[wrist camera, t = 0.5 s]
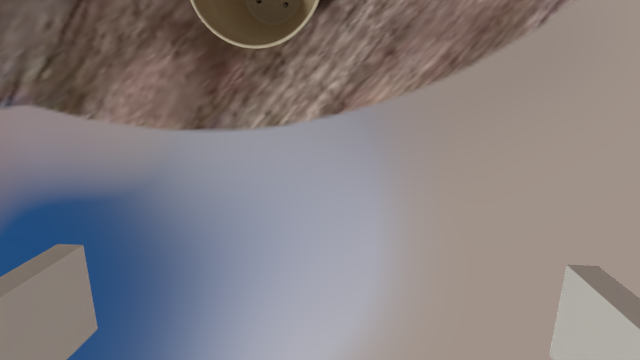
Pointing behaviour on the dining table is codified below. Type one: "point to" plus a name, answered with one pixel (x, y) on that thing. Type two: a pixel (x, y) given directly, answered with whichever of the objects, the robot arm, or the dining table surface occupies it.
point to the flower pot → (255, 20)
